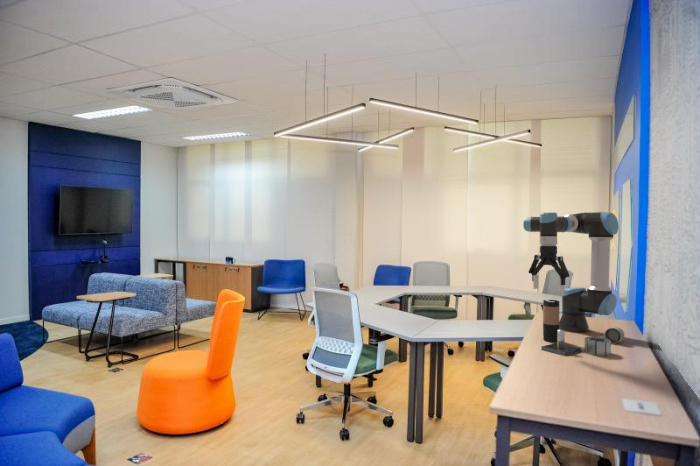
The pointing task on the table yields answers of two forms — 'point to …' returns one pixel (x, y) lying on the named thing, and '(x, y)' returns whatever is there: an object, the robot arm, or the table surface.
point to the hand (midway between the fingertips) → (548, 290)
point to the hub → (597, 346)
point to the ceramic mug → (614, 334)
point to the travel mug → (550, 320)
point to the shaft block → (561, 346)
